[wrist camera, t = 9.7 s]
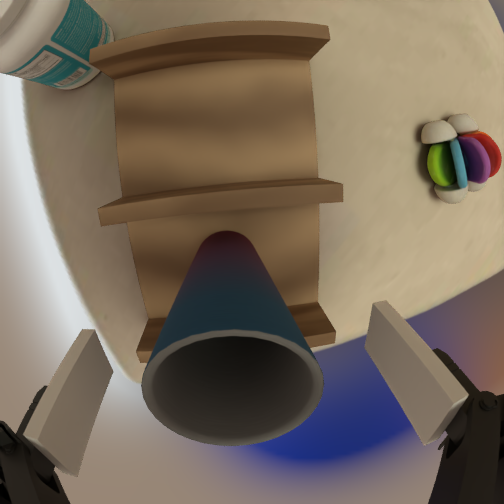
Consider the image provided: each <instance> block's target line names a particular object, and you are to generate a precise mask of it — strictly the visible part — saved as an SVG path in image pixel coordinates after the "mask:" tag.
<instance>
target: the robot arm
mask: <svg viewBox="0 0 504 504" xmlns="http://www.w3.org/2000/svg"><path fill="white" fill-rule="evenodd" d="M365 349H366V351H367V352H368V354H369V355H370V357H371V359H372V360H373V361H374V363H375V365H376V366H377V368H378V370H379V371H380V373H381V374H382V376H383V378H384V379H385V381H386V382H387V384H388V385H389V387H390V389H391V391H392V392H393V394H394V396H395V397H396V398H397V400H398V402H399V404H400V405H401V407H402V409H403V410H404V412H405V414H406V416H407V417H408V419H409V421H410V422H411V424H412V425H413V427H414V429H415V431H416V433H417V434H418V436H419V438H420V440H421V441H422V443H423V445H424V446H425V445H427V444H429V443H431V442H433V441H435V440H437V439H439V438H440V436H441V435H442V434H443V432H444V431H446V432H447V434H448V435H447V437H446V438H445V439H444V441H443V442H442V443H441V444H440V446H439V448H438V450H440V449H441V448H442V447H443V446H444V449H443V454H442V458H441V462H440V466H439V470H438V474H437V477H436V481H435V484H434V487H433V490H432V493H431V497H430V499H429V502H428V504H504V394H502V395H498V396H496V395H494V394H493V393H491V392H488V391H482V392H480V391H479V390H478V389H477V388H476V387H475V386H474V384H473V383H472V382H471V381H470V380H469V379H468V377H467V376H466V375H465V374H464V373H463V372H462V370H461V369H459V367H458V366H457V365H456V363H454V362H453V360H452V359H451V358H450V357H449V356H448V354H446V353H445V352H443V351H441V350H440V349H438V348H436V349H434V350H431V349H430V348H429V346H428V345H427V344H426V343H425V342H424V341H423V340H422V338H421V337H420V336H419V335H418V334H417V333H416V332H415V331H414V330H413V329H412V327H411V326H410V325H409V324H408V323H407V322H406V321H405V320H404V319H403V318H402V317H401V316H400V314H399V313H398V312H397V311H396V310H395V309H394V308H393V307H392V306H391V305H390V304H389V303H388V302H387V301H381V302H376V303H373V305H372V311H371V317H370V322H369V328H368V333H367V338H366V343H365ZM112 374H113V369H112V367H111V365H110V363H109V361H108V359H107V357H106V355H105V352H104V350H103V348H102V346H101V343H100V341H99V339H98V336H97V334H96V331H95V329H90V330H89V329H82V331H81V332H80V334H79V335H78V337H77V338H76V340H75V341H74V343H73V344H72V346H71V348H70V349H69V351H68V352H67V354H66V356H65V357H64V359H63V361H62V363H61V364H60V366H59V367H58V369H57V371H56V373H55V374H54V376H53V378H52V380H51V381H50V383H49V385H48V386H44V387H43V388H42V389H41V390H39V391H38V392H37V394H36V396H35V398H34V399H33V403H31V405H30V407H29V410H28V411H27V413H26V414H25V416H24V418H23V420H22V422H21V424H20V426H19V428H18V431H17V433H16V434H15V433H14V432H13V431H12V430H11V428H10V427H9V426H8V425H7V424H6V423H5V422H4V421H0V504H70V502H69V500H68V498H67V496H66V494H65V492H64V489H63V487H62V485H61V483H60V480H59V478H58V476H57V474H56V473H55V471H54V468H55V466H56V467H57V468H58V469H59V470H61V471H62V472H63V473H66V474H69V475H73V476H75V477H78V473H79V470H80V466H81V463H82V460H83V456H84V453H85V449H86V446H87V443H88V440H89V437H90V434H91V431H92V428H93V425H94V422H95V419H96V416H97V414H98V411H99V408H100V405H101V403H102V400H103V397H104V394H105V392H106V389H107V387H108V384H109V381H110V379H111V376H112Z"/></svg>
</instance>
